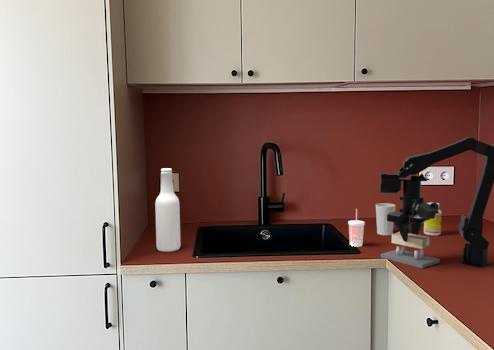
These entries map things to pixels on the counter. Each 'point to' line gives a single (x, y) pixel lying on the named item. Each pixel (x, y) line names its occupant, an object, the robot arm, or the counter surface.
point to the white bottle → (167, 215)
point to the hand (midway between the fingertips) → (410, 240)
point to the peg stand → (410, 257)
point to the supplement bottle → (433, 224)
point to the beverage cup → (356, 232)
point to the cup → (384, 218)
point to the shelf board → (411, 240)
